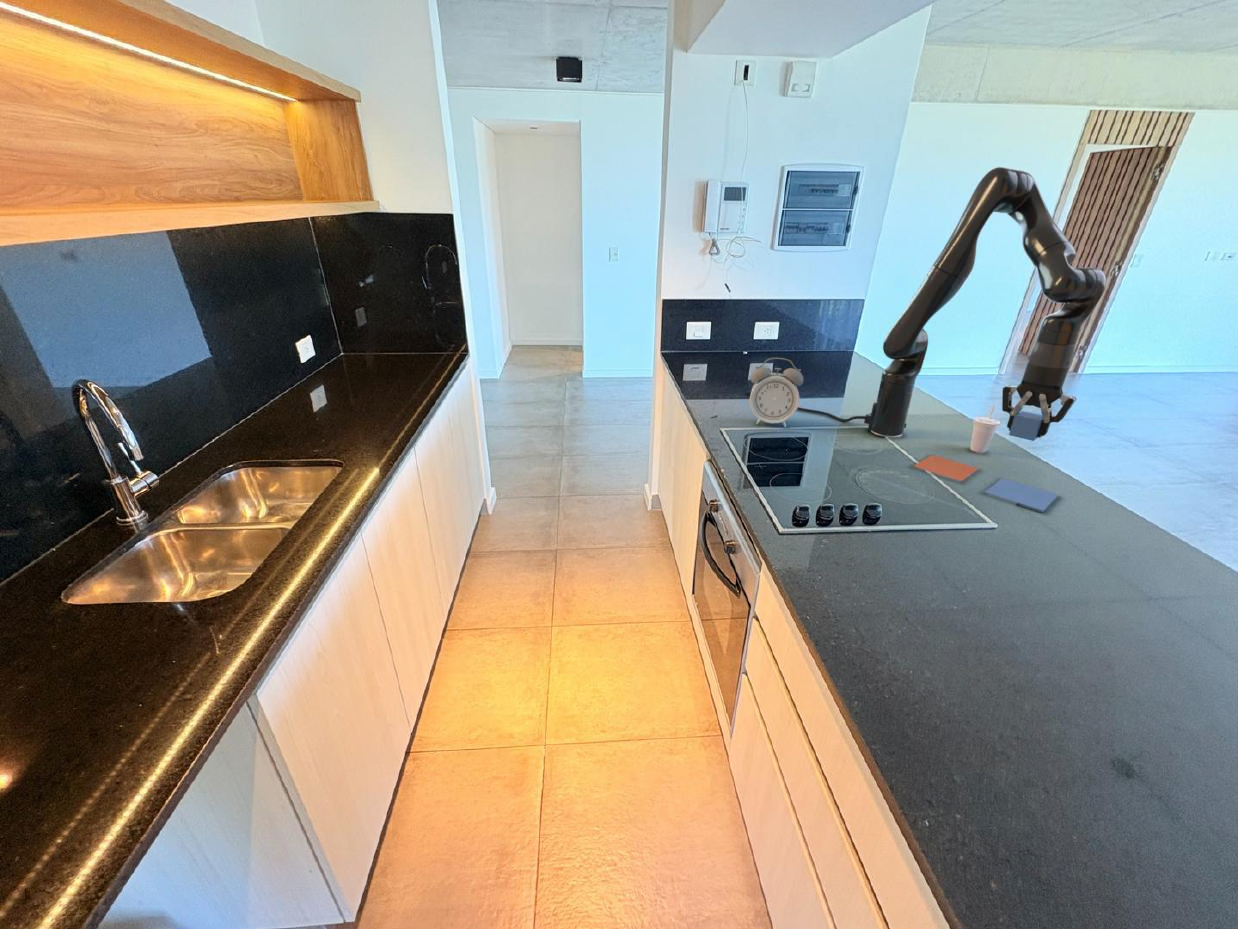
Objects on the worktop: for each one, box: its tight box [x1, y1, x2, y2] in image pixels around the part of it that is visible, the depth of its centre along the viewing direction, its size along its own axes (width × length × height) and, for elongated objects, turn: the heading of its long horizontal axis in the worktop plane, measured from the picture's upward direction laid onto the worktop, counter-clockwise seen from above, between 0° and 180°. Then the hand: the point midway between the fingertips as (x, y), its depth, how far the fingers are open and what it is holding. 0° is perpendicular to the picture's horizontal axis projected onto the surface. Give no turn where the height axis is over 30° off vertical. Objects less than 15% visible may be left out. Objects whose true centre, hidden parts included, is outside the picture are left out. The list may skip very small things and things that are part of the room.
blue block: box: [1008, 410, 1043, 442], centre depth 124 cm, size 5×5×5 cm
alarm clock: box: [749, 357, 804, 428], centre depth 171 cm, size 16×9×22 cm, turn 74°
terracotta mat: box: [913, 454, 979, 482], centre depth 143 cm, size 12×12×1 cm
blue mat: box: [984, 478, 1059, 514], centre depth 129 cm, size 12×12×1 cm
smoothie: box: [969, 405, 1001, 454], centre depth 151 cm, size 6×6×14 cm
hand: (1025, 433), depth 125 cm, fingers closed on blue block, 5 cm apart
